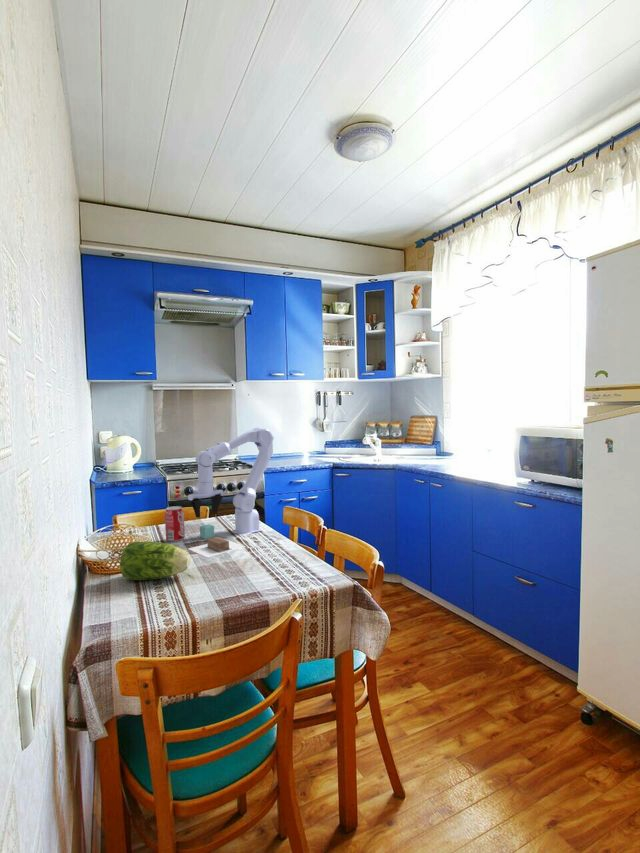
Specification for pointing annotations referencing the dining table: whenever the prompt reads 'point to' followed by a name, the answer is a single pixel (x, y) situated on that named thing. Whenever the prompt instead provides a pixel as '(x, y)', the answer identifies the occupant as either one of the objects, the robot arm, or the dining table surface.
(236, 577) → the dining table surface
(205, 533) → the teal block
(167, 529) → the soda can
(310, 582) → the dining table surface
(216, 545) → the base brick
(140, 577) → the lettuce
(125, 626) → the dining table surface
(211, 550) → the plate
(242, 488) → the robot arm
